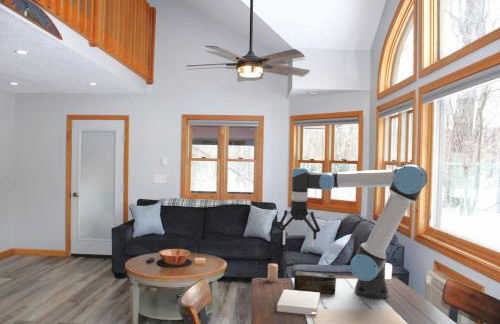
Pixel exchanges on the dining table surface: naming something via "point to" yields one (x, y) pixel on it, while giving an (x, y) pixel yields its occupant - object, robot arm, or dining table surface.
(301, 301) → the white flat slab
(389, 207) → the robot arm
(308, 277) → the beverage carton
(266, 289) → the dining table surface
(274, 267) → the peach rounded cylinder
